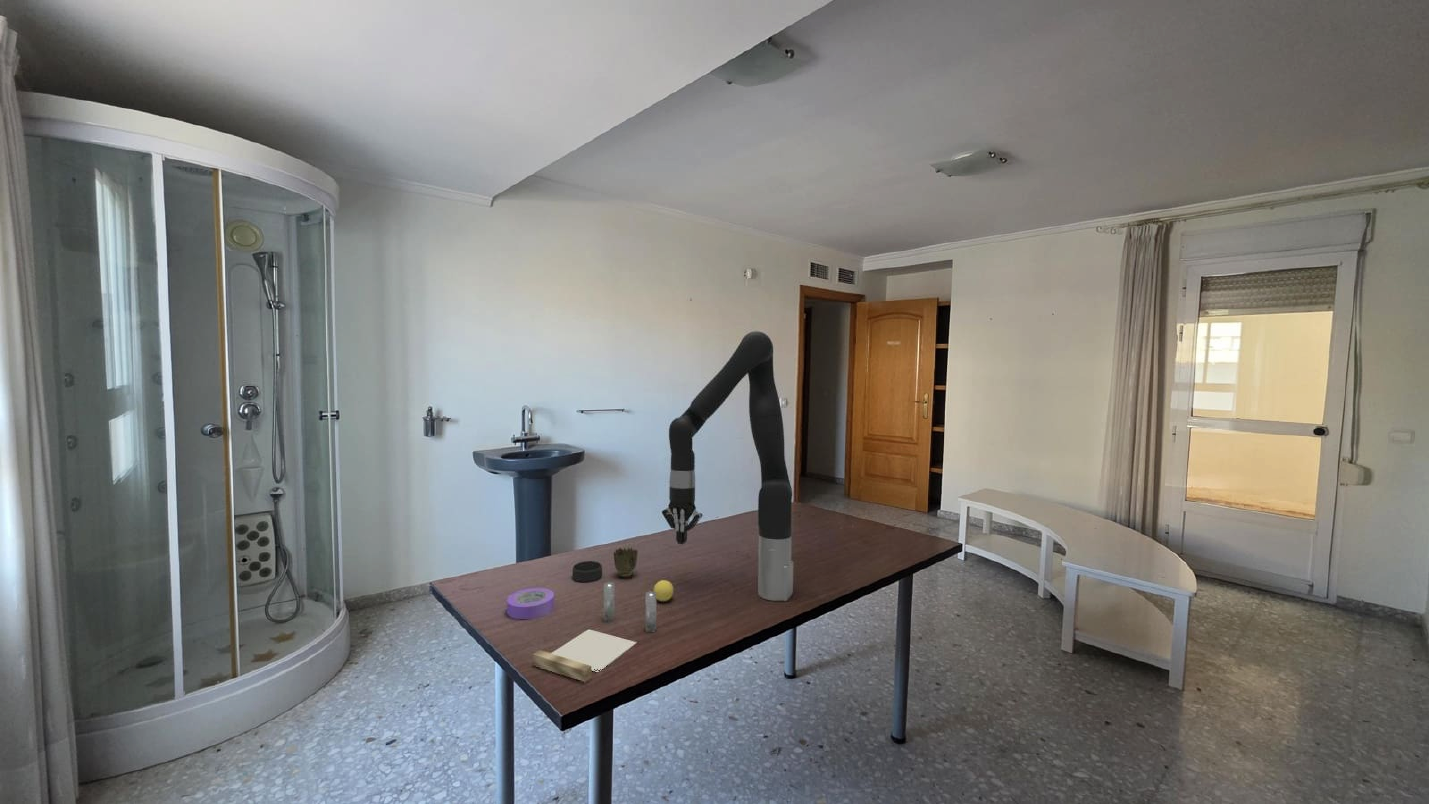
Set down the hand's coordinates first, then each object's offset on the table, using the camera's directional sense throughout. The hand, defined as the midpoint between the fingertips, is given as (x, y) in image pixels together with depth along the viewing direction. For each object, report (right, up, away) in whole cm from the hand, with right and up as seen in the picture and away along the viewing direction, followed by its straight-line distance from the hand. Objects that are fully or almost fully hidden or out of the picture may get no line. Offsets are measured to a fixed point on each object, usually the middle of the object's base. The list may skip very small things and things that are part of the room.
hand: (681, 543), depth 151 cm
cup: (-18, -13, +9) cm, 24 cm away
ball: (-4, -11, -9) cm, 15 cm away
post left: (-17, -14, -20) cm, 30 cm away
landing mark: (-18, -14, -35) cm, 42 cm away
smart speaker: (-30, -13, +8) cm, 33 cm away
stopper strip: (-22, -14, -44) cm, 52 cm away
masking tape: (-39, -14, -15) cm, 44 cm away
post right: (-6, -14, -26) cm, 30 cm away
